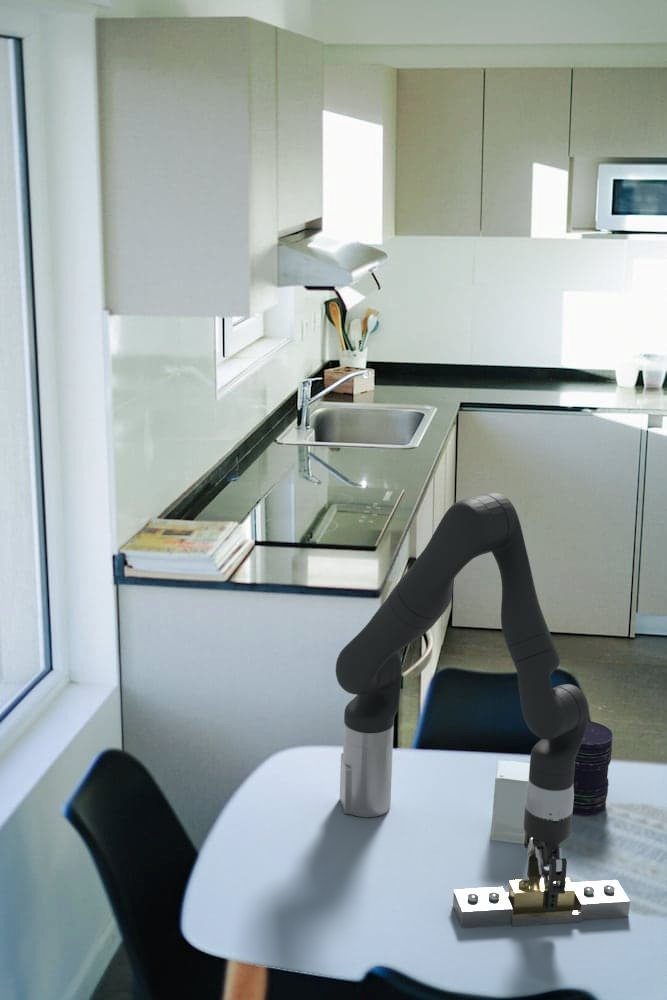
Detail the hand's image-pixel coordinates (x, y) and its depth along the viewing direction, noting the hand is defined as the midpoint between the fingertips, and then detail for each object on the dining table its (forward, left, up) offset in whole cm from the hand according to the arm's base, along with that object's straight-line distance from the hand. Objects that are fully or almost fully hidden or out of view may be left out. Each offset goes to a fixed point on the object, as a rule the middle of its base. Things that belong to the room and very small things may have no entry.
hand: (541, 893), depth 203 cm
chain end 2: (+7, 0, -3) cm, 8 cm away
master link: (0, 0, -4) cm, 4 cm away
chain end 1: (-7, 0, -3) cm, 8 cm away
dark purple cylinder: (+18, +33, -4) cm, 38 cm away
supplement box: (+2, +24, -4) cm, 24 cm away
